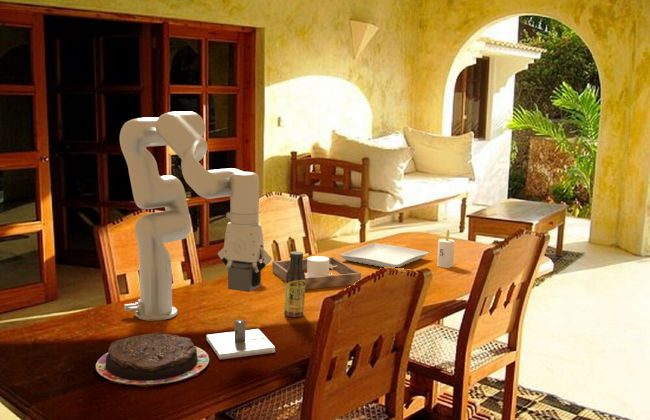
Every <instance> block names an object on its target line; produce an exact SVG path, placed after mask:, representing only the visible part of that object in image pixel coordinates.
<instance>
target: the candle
mask: <svg viewBox="0 0 650 420" xmlns="http://www.w3.org/2000/svg"><path fill="white" fill-rule="evenodd" d="M437 243H438V244H437V258H436V259H437V260H436V261H437V262H436V263H437V264H436V265H437V267H438V266H439V267H438V268H441V267H442V269H451V268H450V267H452V268H453V267H454V257H455V256H454V255H455V240H454V239H450V229H447V231H446V234H445V238H440V239H438V241H437Z"/></svg>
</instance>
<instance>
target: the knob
mask: <svg viewBox="0 0 650 420" xmlns="http://www.w3.org/2000/svg"><path fill="white" fill-rule="evenodd" d="M256 263H257V262H256ZM253 272H254V269H253V264H251V263H246V262H238V261H233V262H232V266H230V267H228V269H227V289H228V290H232V291H239V292H246V293H251V292H252V291H255V289H257V288H260V287H261V283H260V284H259V285H257V286H256V287H253Z"/></svg>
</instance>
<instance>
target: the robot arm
mask: <svg viewBox="0 0 650 420" xmlns="http://www.w3.org/2000/svg"><path fill="white" fill-rule="evenodd" d="M205 131H206V125H205V121H204V119H203V118H202V116H201V115H199V114H198V113H197V112H194V111H170V112H169V111H168V112H165V113H163V114H161V115H160V116H159V117H137V118H132V119H130V120H128V121H126V122H125V123H124V124H123V125H122V127H121V129H120V133H119V144H120V148H121V152H122V154H123V156H124V159H125V162H126V165H127V168H128V176H129V180H130V185H131V190H132V196H133V200H134V203H135V206H137V207H138V208H139V209H142V210H151V209H161V208H164V209H165V211H159V212H157V211H156V212H151V213H146V214H144V215H142V216H140V217H139V218H137V220H136V222H135V224H134V234H135V238H136V243H137V251H138V269H139V270H138V272H139V299H137V302H136V301H135V302H134V303H124V305H123V306H124V311H129V312H134V316H135V317H136V318H137V319H139V320H143V321H148V322H150V321H152V322H157V321H165V320H169V319H172V318H174V317H176V316H177V314H178V309H177V308H176V307H175V306H173V287H172V286H173V283H172V280H173V279H172V276H173V275H172V274H173V273H172V272H173V271H172V257H171V253H170V252H169V250H168V249H167V247H166V245H165V244H167V243H172V242H177V241H181V240H184V239H186V238H187V237H188V236H189V235H190V233H191V229H192V227H191V226H192V225H191V222H192V221H191V217H190V211H189V205H188V200H187V195H186V190H185V188H184V185H183V183H182V181H181V180H180V179H179V178H178V177H177V176H174V175H167V174H166V175H160V173H159V168H158V163H157V161H156V158H155V157H154V156H153V154H152V153H151V152H150V151H149V150H148V149H147V148H148V147H159V146H161V147H162V146H169V148H170V149H171V150H172V151H173V152H174V153H175V154H176V156H178V157H179V158H180V159H181V164H180V168H181V173H182V175H183V176H182V177H183V178H184V180H185V182H186V184H187V185H188V186H189V187H190V188H191V189H192V190H193V191H194V192H195V193H196V194H197V195H198V196H200V197H201V198H203V199H207V200H212V199H217V198H225V197H226V198H227V197H229V199H230V204H229V205H230V208H229V210H230V211H229V212H227V213H226V215H225V216H226V218H228V219H229V222H227V225H226V229H225V234H224V235H225V236H224V243H223V247H222V249H221V250H219V251H218V252H217V255H218V257H219V259H221V261H222V263H223V264H224V265H225V269H227V270H228V267H230V266H232V262H233V261H238V262H246V263H251V264H253V269H254V272H253V287H256V286H257V285H259V284H260V285H261V282H262V281H261V280H262V278H261V277H262V271H263V269H264V268H265V267H266V266H267V265H268V264H270V262H271V261H272V260H273V259H272V257H271V255H269V254H268V252H267V251H266V250H265V248H264V247H265V244H264V234H263V227H262V224H261V223H260V177H259V174H258V173H256V172H253V171H252V172H251V171H243V170H240V169H238V168H234V167H233V168H232V167H230V168H219V169H209V170H207V169H206V168H205V167H204V166H203V165H202V164H201V163H200V161H201V160H202V159H203V158H204V157H205V155H206V153H207V152H208V143H207V141H206V139H205V138H204V137H203V136H204V134H205ZM261 259H262V263H261V262H260V260H261ZM256 262H257V263H256Z"/></svg>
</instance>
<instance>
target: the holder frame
mask: <svg viewBox="0 0 650 420" xmlns="http://www.w3.org/2000/svg"><path fill="white" fill-rule="evenodd" d="M327 257H328V258H329V264H331V265H333V266H336V265H337V266H336V267H333V270H334V269H335V270H334V271H336V270H337V271H336V272H338V273H339V272H340V274H331V275H328V276H317V277H306V276H305V277H306V278H305V290H313V289H322V288H323V289H325V288H333V287H334V288H335V287H336V288H337V287H345V286H353V285H352V284H354V283H355V282H357V281H358V280H360V279H361V280H362V273H361V272H359V271H358V270H356V269H355V268H352V267H351V266H349V265H348V264H345V263H344V262H342V261H340V260H339V259H337V258H336V257H333V256H327ZM271 264H272V266H271V267H272V269H271V270H272V271H271V273H273V274H274V275H276V276H277V277H278V278H279V279H281V280H282V281H283V282H284V283H285V282H286V274H287V271H288V269H289V268H290V260H288V259H287V260H275V261H272V263H271ZM302 268H303V270H304V271H307V258H302Z"/></svg>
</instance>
